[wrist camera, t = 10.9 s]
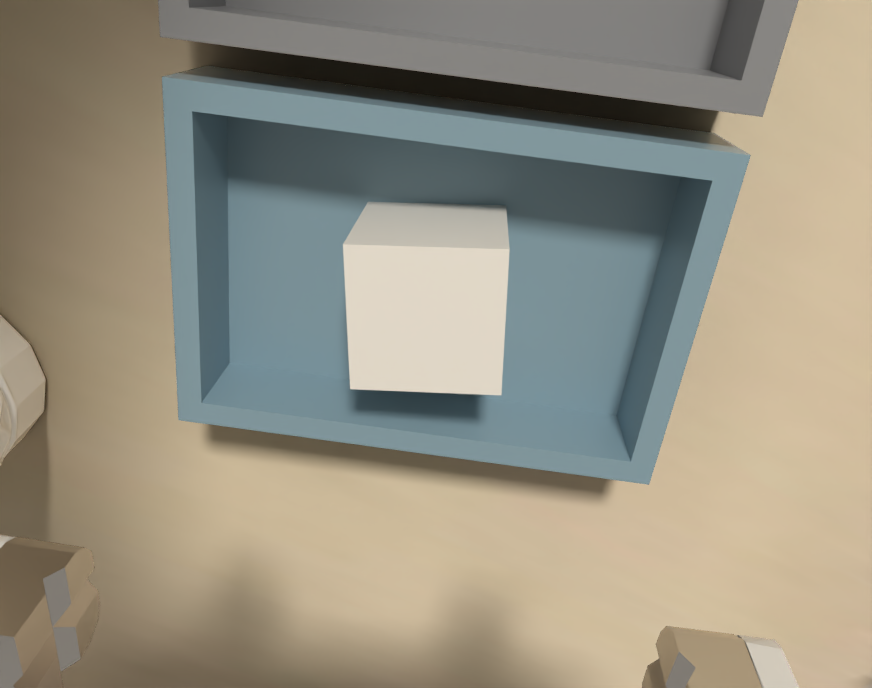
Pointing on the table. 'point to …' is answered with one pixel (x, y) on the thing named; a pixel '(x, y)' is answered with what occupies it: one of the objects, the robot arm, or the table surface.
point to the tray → (524, 41)
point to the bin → (442, 184)
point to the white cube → (427, 297)
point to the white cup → (18, 388)
